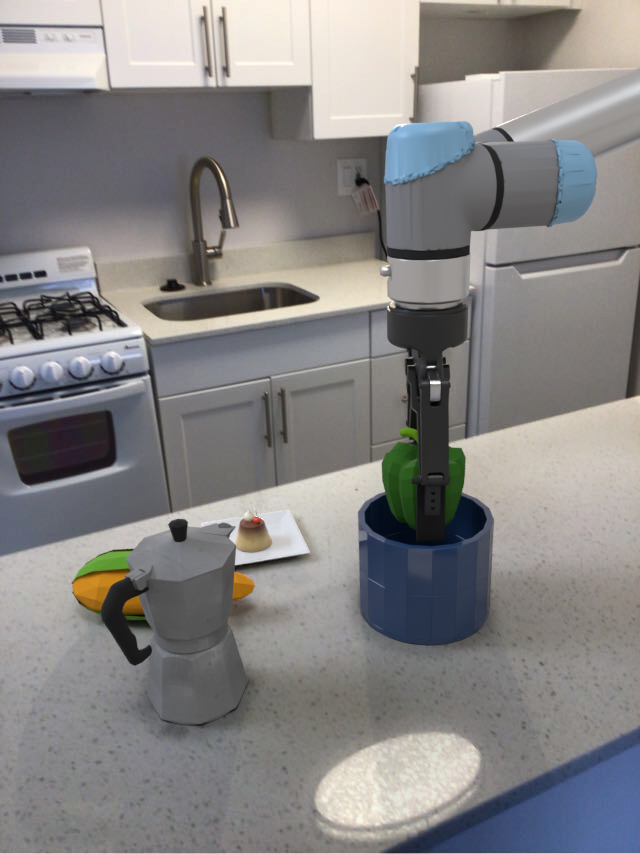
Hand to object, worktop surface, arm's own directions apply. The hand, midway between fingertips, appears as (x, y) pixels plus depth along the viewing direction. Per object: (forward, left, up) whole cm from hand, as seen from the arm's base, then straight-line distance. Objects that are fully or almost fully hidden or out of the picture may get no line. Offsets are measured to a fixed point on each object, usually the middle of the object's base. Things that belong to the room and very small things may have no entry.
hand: (425, 517), depth 78 cm
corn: (+28, 0, -11) cm, 30 cm away
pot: (0, 0, -11) cm, 11 cm away
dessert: (+20, -14, -11) cm, 27 cm away
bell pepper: (0, 0, -1) cm, 1 cm away
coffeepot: (+23, +14, -11) cm, 29 cm away
